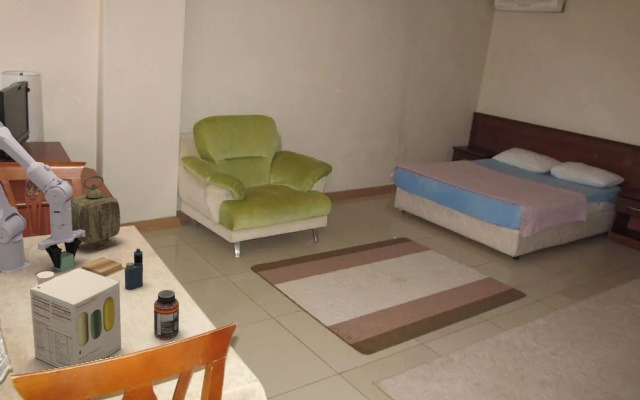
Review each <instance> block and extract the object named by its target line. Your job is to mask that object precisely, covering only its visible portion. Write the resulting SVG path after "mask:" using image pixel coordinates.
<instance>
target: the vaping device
mask: <svg viewBox="0 0 640 400" xmlns="http://www.w3.org/2000/svg"><path fill="white" fill-rule="evenodd" d="M143 257H144V254H143V251H141V249H140V248H136V249H135V251H134V252H133V262H126V265H125V267H124V268H125V269H124V289H125V290H126V291H131V290H135V289H139V288H142V287H143V286H144V285H143V283H144V279H143V278H144V264H143V263H144V262H143V261H144V259H143Z"/></svg>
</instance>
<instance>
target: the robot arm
mask: <svg viewBox="0 0 640 400" xmlns="http://www.w3.org/2000/svg"><path fill="white" fill-rule="evenodd" d="M0 150H2V151H4V153H5V154H7V155H8V156H9V157H10V158H11V159H13V161H15V162H16V163H17V164H18V165H20V166H21V168H22V167H23V168H24V169H25V175H26V177H27V178H28V179H29V181H31V182H32V183H33V184H34V185H35V186H36V187H38V189H39V190H40V191H42V193H44V194H45V195H44V198H45V201H46V202H47V203H48V205H49V219H50V220H49V221H50V236H49V237H47V238H45V239H43V240H42V241H38V242H37V249H38V250H40V251H46V253H47V254H48V256H49V258H50V260H51V262H52V265H53V266H52V267H53V268H54V267H55V268H60V265H61V261H60V257H61V252H62V251H63V248H62V247H59V245H61V244H64V248H65V249H64V250H65V251H66V252H69V253H72V254H73V255H74V259H75V257H76V254H77V251H78V247H79V246H80V245H82V243H81V241H80V240H78V238H79V237H85V231H84V230H81V229H80V230H75V231H72V213H71V199H72V196H73V195H74V188H73V185H72V184H71V183H70V182H69V181H68V180H63V179H62V178H59V177H58V176H57V175H56V174H55V173H54V171H52V170H51V167H50V166H49V164H45V163H44V162H39V161H36V160H35V159H34V158H33V157H32V156H31V155H30V154H29V153H28V151H26V150H25V148H24V147H23V146H22V145H21V144H20V143H19V142H18V141H17V140H16V139H15V137H14V136H13V135H12V132H11V131H10V129H9V128H8V127H6V126H4V124H3V123H2V121H0ZM26 226H27V221H26V219H25V218H24V217H23V216H22V215H21V214H20V213H19V211H18V209H17V208H16V207H14V206H12V205H11V204H10V202H9V200H8V198H7V196H6V193H5V191H4V188H3V186H2V184H1V183H0V272H1V273H6V274H8V273H11V272H14V271H18V270H20V269H23V268H25V267H28V266H32V263H30V262H28V261H26V260H25V259H26V257H25V248H24V247H25V246H24V235H23V232H24V230H25V228H26ZM79 248H80V247H79Z"/></svg>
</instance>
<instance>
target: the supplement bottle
mask: <svg viewBox="0 0 640 400" xmlns="http://www.w3.org/2000/svg"><path fill="white" fill-rule="evenodd" d="M179 319H180V303H179V300H178V298H176V292H175V291H174V290H173V289H172V290H171V289H163V290H160V291H159V292H158V293H157V299H156V300H155V301H154V303H153V326H154V327H153V334H154V335H155V337H156V338H159V339H162V340H170V339H172V338H174V337H176V336H177V335H178V334H179V332H180V330H179V329H180V320H179Z"/></svg>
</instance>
